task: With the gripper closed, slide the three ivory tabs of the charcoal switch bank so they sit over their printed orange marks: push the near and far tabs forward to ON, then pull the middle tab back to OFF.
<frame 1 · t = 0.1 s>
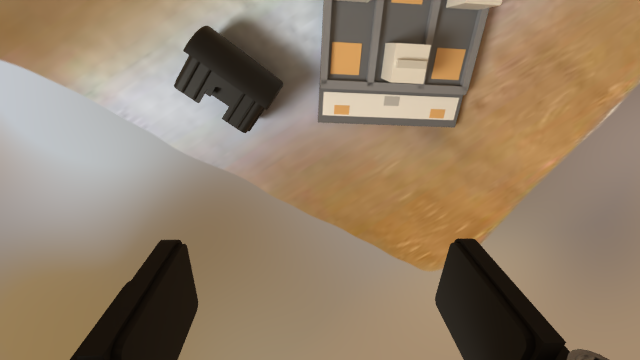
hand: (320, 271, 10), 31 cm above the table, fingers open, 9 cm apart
tab 2: (404, 63, 33), point 4 cm above the table, slide at 8.0 cm
switch bank: (397, 43, 36), on the table
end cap: (238, 78, 37), on the table
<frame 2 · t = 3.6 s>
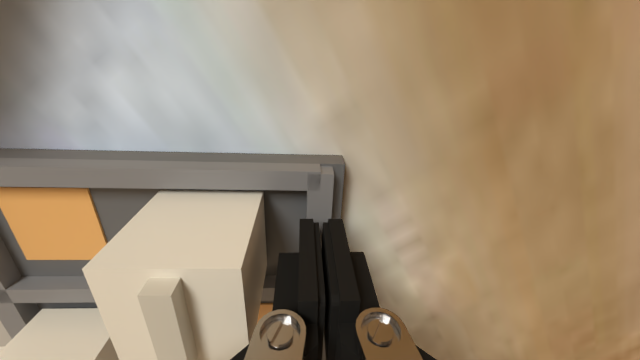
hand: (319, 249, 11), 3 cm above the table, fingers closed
switch bank: (150, 312, 16), on the table
tab 1: (198, 272, 10), point 4 cm above the table, slide at 1.3 cm, touching gripper
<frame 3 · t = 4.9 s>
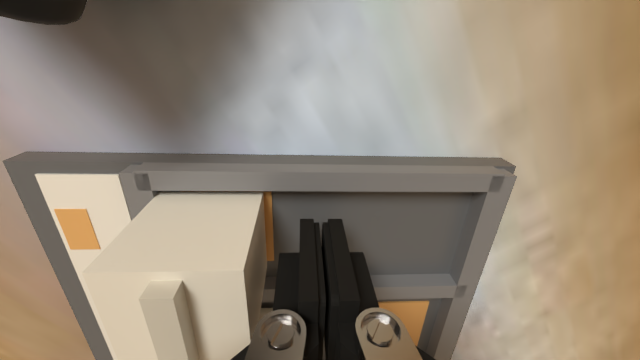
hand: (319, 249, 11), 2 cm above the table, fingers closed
switch bank: (281, 312, 16), on the table
tab 1: (198, 274, 10), point 4 cm above the table, slide at 8.5 cm, touching gripper, switch bank
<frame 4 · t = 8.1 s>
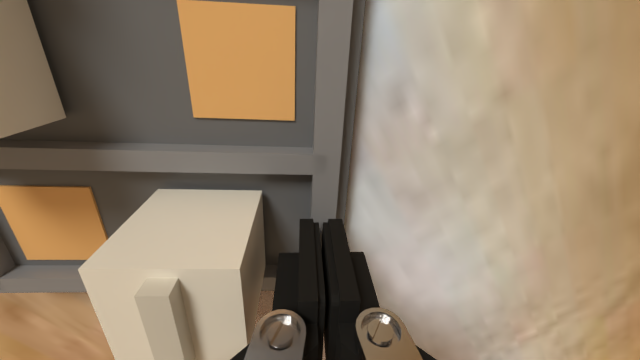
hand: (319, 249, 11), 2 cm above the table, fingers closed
switch bank: (75, 56, 10), on the table
tab 3: (196, 272, 10), point 4 cm above the table, slide at 1.5 cm, touching gripper
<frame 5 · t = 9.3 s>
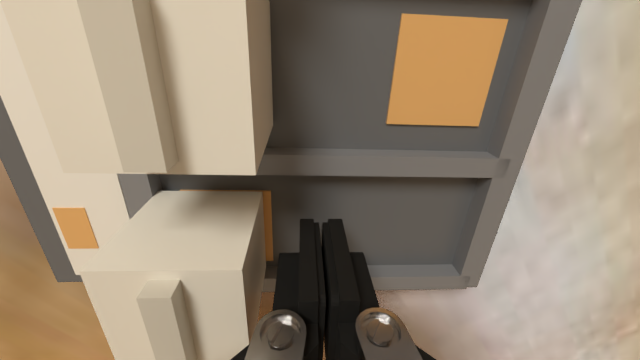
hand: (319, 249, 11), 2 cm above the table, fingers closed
tab 2: (180, 72, 7), point 4 cm above the table, slide at 8.0 cm
switch bank: (274, 65, 11), on the table
tab 3: (197, 273, 10), point 4 cm above the table, slide at 8.5 cm, touching gripper, switch bank
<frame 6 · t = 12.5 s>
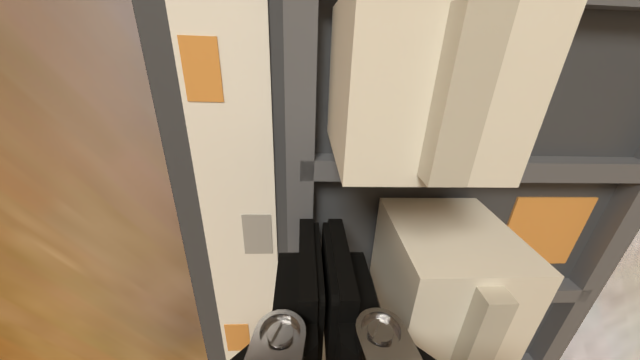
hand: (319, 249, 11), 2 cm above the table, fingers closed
tab 2: (445, 278, 10), point 4 cm above the table, slide at 5.8 cm, touching gripper
switch bank: (405, 219, 14), on the table
tab 1: (416, 86, 7), point 4 cm above the table, slide at 8.1 cm
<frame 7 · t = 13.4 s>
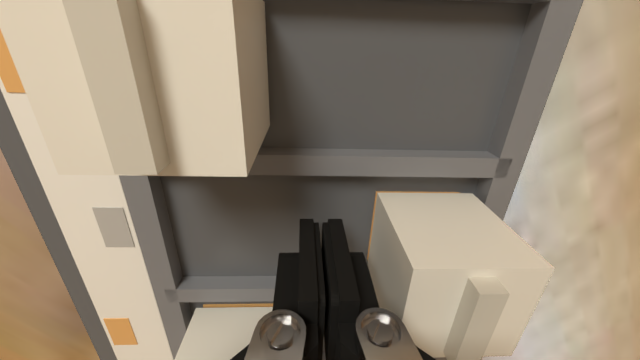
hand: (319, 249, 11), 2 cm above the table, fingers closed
tab 2: (441, 271, 10), point 4 cm above the table, slide at -0.2 cm, touching gripper
switch bank: (278, 214, 13), on the table
tab 1: (174, 74, 7), point 4 cm above the table, slide at 8.1 cm
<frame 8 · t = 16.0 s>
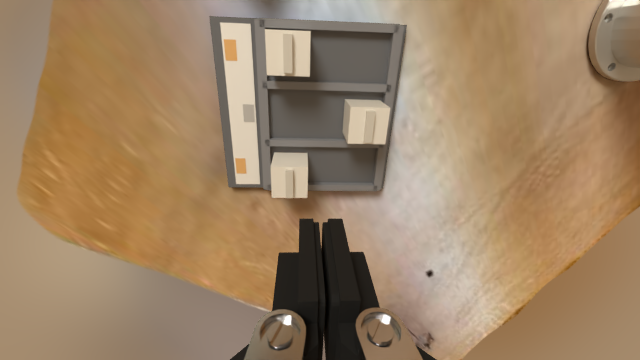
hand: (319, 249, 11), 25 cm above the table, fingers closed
tab 2: (364, 121, 31), point 4 cm above the table, slide at -0.1 cm
switch bank: (308, 112, 34), on the table
tab 1: (289, 53, 28), point 4 cm above the table, slide at 8.1 cm
tab 3: (290, 175, 33), point 4 cm above the table, slide at 8.1 cm
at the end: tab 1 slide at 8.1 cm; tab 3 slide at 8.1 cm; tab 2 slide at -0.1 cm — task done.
